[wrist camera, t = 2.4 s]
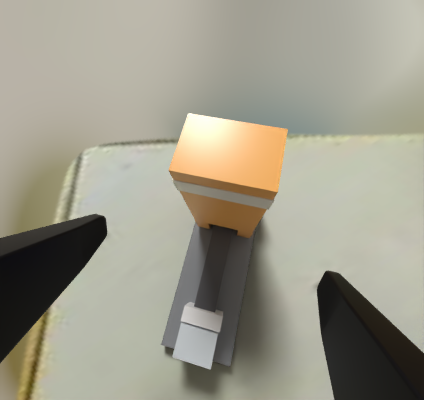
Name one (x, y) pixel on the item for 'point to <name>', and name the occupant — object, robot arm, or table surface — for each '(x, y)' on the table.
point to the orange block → (228, 171)
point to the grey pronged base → (209, 297)
